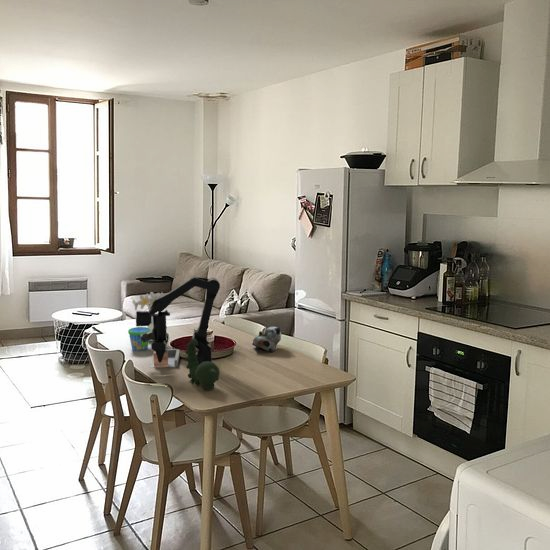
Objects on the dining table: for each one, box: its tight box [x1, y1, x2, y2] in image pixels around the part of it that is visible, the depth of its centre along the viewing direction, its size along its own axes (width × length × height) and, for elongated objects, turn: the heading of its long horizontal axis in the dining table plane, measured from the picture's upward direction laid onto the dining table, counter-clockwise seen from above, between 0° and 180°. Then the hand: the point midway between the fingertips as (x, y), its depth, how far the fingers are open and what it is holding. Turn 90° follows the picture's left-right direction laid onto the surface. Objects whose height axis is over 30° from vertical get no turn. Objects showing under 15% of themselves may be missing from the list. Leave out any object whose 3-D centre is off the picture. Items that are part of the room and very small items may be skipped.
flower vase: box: [131, 291, 164, 342], centre depth 319 cm, size 13×18×25 cm
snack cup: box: [127, 326, 150, 352], centre depth 303 cm, size 16×10×10 cm
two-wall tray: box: [149, 348, 180, 369], centre depth 283 cm, size 12×18×3 cm, turn 6°
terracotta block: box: [152, 350, 168, 366], centre depth 277 cm, size 4×6×6 cm, turn 96°
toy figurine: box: [184, 338, 220, 390], centre depth 251 cm, size 9×19×25 cm
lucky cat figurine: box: [251, 326, 282, 353], centre depth 303 cm, size 15×12×14 cm
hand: (160, 359), depth 277 cm, fingers open, 9 cm apart
